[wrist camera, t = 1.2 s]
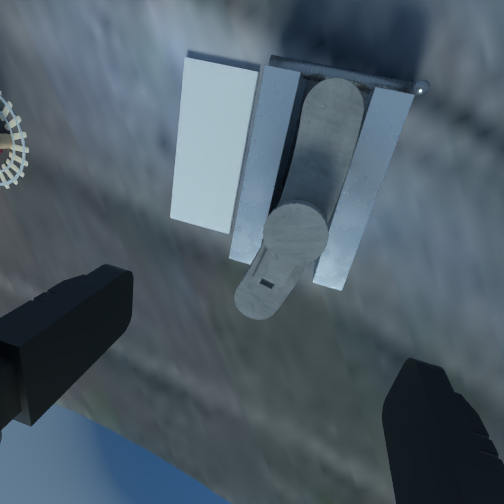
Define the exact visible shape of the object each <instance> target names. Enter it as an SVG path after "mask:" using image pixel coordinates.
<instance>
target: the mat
mask: <svg viewBox="0 0 504 504" xmlns="http://www.w3.org/2000/svg"><path fill="white" fill-rule="evenodd" d="M258 77H259V72H256V71H251V70H246V69H242V68H237V67H232V66H227V65H222V64H217V63H212V62H207V61H202V60H197V59H192V58H187V57H185V62H184V72H183V83H182V94H181V105H180V116H179V127H178V138H177V148H176V159H175V170H174V181H173V192H172V203H171V214H170V218H172V219H176V220H180V221H183V222H187V223H190V224H194V225H198V226H201V227H205V228H208V229H212V230H216V231H219V232H223V233H226V234H230V232H231V226H232V221H233V215H234V210H235V204H236V199H237V193H238V188H239V182H240V177H241V171H242V166H243V160H244V155H245V149H246V144H247V138H248V133H249V127H250V122H251V116H252V111H253V105H254V99H255V94H256V88H257V83H258Z"/></svg>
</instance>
